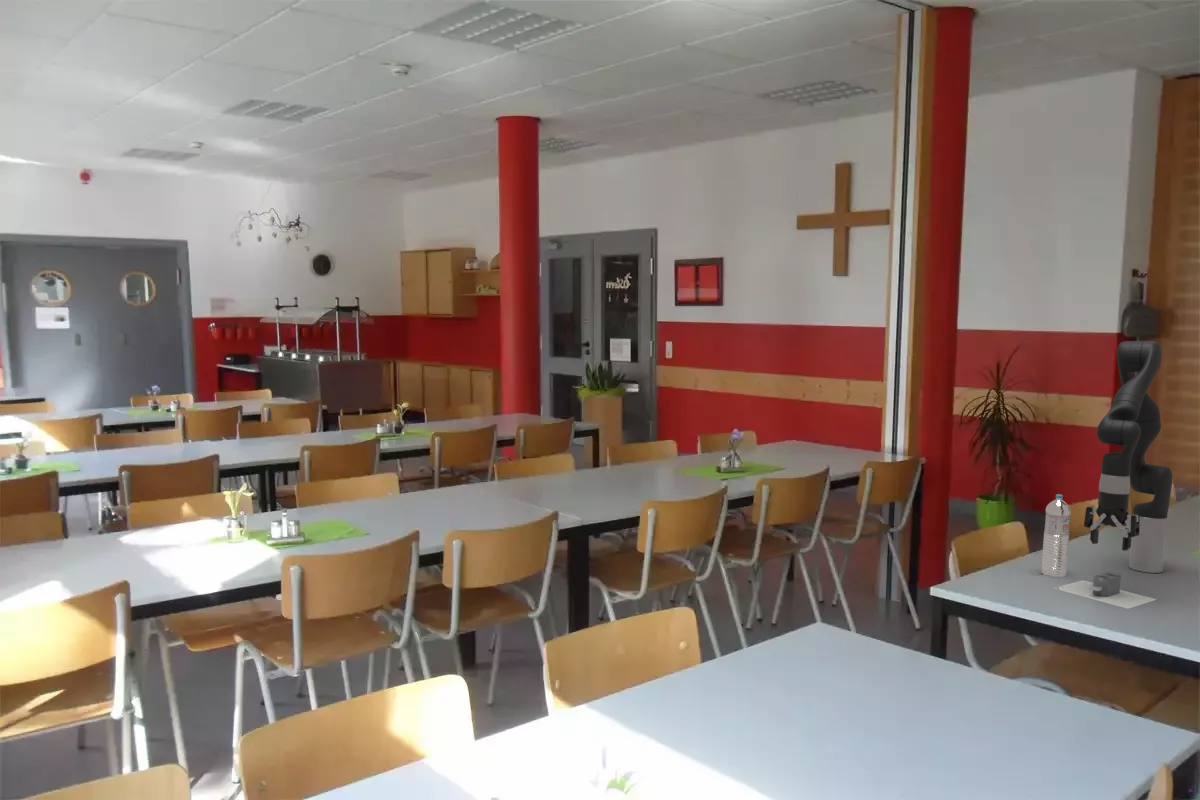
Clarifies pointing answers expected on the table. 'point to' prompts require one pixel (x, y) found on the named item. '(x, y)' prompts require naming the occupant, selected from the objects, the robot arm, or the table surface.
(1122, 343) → the robot arm
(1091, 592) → the rubber mat
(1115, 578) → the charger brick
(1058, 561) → the water bottle
